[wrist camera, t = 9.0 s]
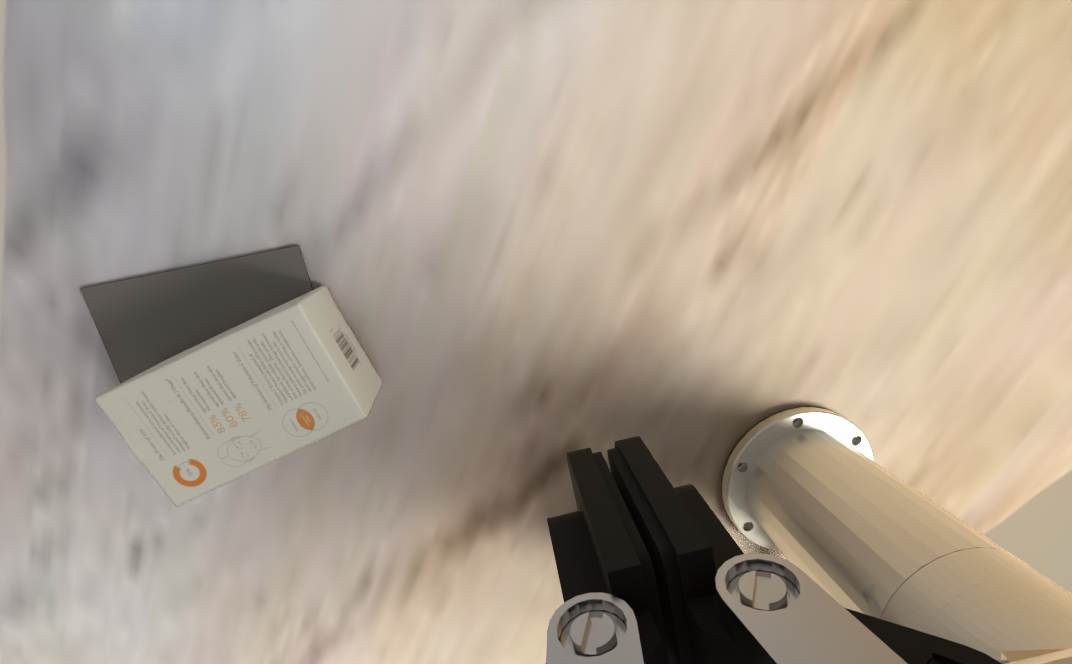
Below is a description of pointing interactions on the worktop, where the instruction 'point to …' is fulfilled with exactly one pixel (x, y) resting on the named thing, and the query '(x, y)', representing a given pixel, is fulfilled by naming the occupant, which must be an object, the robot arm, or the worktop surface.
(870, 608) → the robot arm
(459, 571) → the worktop surface
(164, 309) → the mat
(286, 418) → the small box
